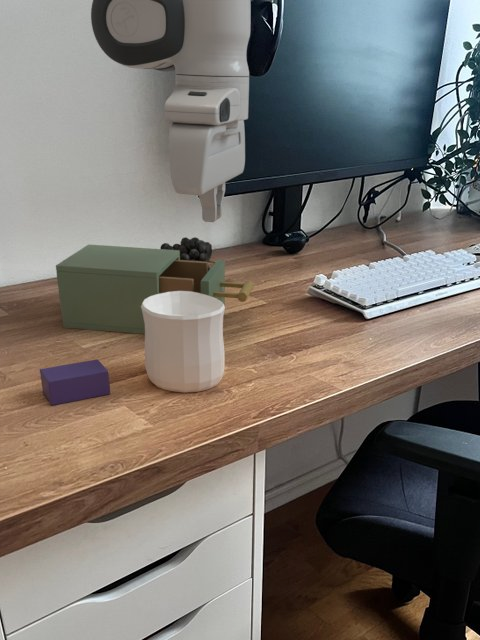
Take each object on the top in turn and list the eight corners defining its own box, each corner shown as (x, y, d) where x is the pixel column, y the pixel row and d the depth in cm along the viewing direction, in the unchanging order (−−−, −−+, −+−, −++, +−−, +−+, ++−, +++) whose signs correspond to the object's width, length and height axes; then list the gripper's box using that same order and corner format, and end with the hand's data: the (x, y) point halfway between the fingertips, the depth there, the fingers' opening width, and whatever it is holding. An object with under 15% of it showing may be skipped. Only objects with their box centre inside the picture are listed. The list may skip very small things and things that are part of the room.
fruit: (122, 236, 112) (215, 234, 113) (128, 241, 120) (214, 239, 121) (125, 290, 114) (216, 288, 115) (131, 292, 122) (216, 290, 123)
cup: (157, 360, 91) (154, 287, 86) (232, 366, 90) (233, 293, 85) (135, 389, 83) (129, 311, 78) (216, 397, 81) (216, 318, 77)
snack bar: (51, 405, 79) (48, 381, 77) (42, 392, 82) (39, 368, 80) (110, 394, 82) (108, 370, 80) (100, 381, 85) (97, 358, 83)
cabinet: (181, 308, 110) (179, 250, 105) (159, 335, 99) (156, 272, 94) (93, 301, 111) (88, 244, 107) (62, 327, 101) (55, 265, 96)
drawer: (255, 309, 107) (256, 262, 103) (243, 334, 97) (244, 283, 94) (141, 300, 109) (138, 254, 106) (118, 324, 100) (114, 274, 96)
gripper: (212, 97, 93) (212, 204, 100) (158, 105, 76) (162, 234, 83) (257, 99, 92) (254, 207, 99) (212, 108, 75) (212, 238, 81)
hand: (212, 219), depth 91 cm, fingers closed
